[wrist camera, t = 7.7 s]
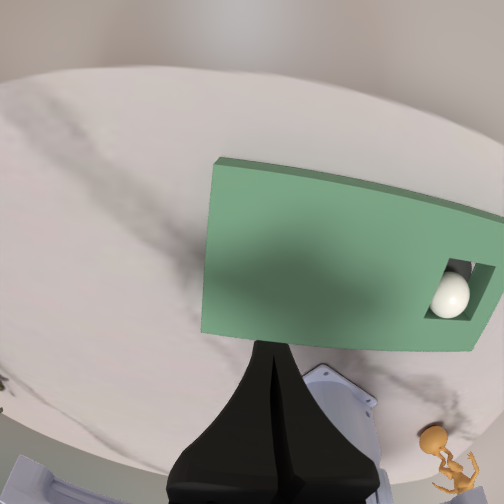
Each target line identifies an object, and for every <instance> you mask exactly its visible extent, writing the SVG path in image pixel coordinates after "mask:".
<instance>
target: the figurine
mask: <svg viewBox="0 0 504 504" xmlns="http://www.w3.org/2000/svg"><path fill="white" fill-rule="evenodd" d="M447 440H448V435H447V432H446V431H445V429H444V428H442V427H440V426H432V427H429V428H428V429H426V430H425V431H424V432H423V433H422V435H421V437H420V441H419V444H420V448H421V449H422V451H424V452H425V453H427V454H433V455H434V456H438V457H439V458H440V459H441V460H442V462H441V464H440V467H439V472H441V473H443V474H444V475H446V476H447V477H448V478H449V479H450V480H451V479H452V478H453V479H454V488H455V489H454V490H450V491H449V490H448V489H445V488H443V487H440V486H437V485H435V484H434V483H432V484H433V485H434V486H435V487H436V488H438V489H440V490H442V491H445V492H446V493H449V494H455V493H457V495H459V494H460V493H462V492H465V491H467V490H470V489H473V486H474V481H475V478H476V477H477V475H478V472H479V468H478V466H477V463H476V461H475V459H474V456H473V454H472V452H471V454H470V453H469V454H470V455H468V456H469V457H470V458H468V459H472V463H473V466H474V469H475V472H474V474H473V475H472V477H471V479H470V478H468V477H467V476H465V475H464V474H463V473H462V472H461V471H462V470H463V467H462V466H461V465H459V464H458V463H456V462H454V461H452V460H451V459H452V458H453V455H452V454H451V452H450V451H449V450H448V449H446V448H445V445H446V443H447ZM440 451H444V452H445V453H447V454H448V455H449V456H448V459H447V465H448V466H449V468H450V469H449V468H444V467H443V466H444V465H445V464H446V461H445V458H444V457H443V456H442V455H441V454H440V453H439V452H440Z"/></svg>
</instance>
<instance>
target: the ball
mask: <svg viewBox="0 0 504 504" xmlns="http://www.w3.org/2000/svg"><path fill="white" fill-rule="evenodd" d="M469 297H470V292H469V287H468V284H467V282H466V280H465V279H464V278H463V277H462V276H461V275H459V274H458V273H455V272H444V273H443V275H442V278H441V280H440V282H439V285H438V287H437V290H436V292H435V294H434V296H433V299H432V301H431V303H430V305H429V307H430V309H431V310H432V311H433V312H434V313H435V314H436V315H437V316H439V317H442V318H453V317H456V316H458V315H459V314H461V313H462V312H463V311H464V309H465V308H466V306H467V304H468V301H469Z"/></svg>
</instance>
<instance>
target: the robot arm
mask: <svg viewBox="0 0 504 504" xmlns="http://www.w3.org/2000/svg"><path fill="white" fill-rule="evenodd" d="M377 403H378V402H377V399H375V398H374V397H372V396H371V395H369V394H368V393H366V392H365V391H363V390H362V389H360V388H359V387H357V386H356V385H354V384H353V383H351V382H350V381H348V380H347V379H345V378H344V377H342V376H341V375H340V374H338V373H337V372H335V371H334V370H332V369H331V368H329V367H328V366H326V365H320V366H318V367H317V368H315V369H314V370H312V371H311V372H309V373H308V374H306V375H305V376H303V377H302V376H301V374H300V372H299V370H298V367H297V365H296V363H295V361H294V358H293V356H292V353H291V351H290V348H289V345H288V344H287V343H280V342H271V341H262V340H256V341H255V342H254V346H253V352H252V357H251V359H250V362H249V365H248V367H247V369H246V371H245V374H244V376H243V378H242V380H241V381H240V383H239V385H238V387H237V389H236V390H235V392H234V394H233V395H232V397H231V398H230V400H229V401H228V403H227V404H226V406H225V407H224V408H223V410H222V411H221V412H220V414H219V415H218V416H217V417H216V419H215V420H214V421H213V422H212V423H211V424H210V426H209V427H208V428H207V429H206V430H205V431H204V432H203V433H202V434H201V435H200V436H199V437H198V438H197V439H196V440H195V441H194V442H193V443H192V444H190V445H189V446H188V447H187V448H186V449H185V450H184V451H183V452H182V453H181V455H180V456H179V458H178V459H177V461H176V462H175V464H174V466H173V467H172V469H171V471H170V474H169V476H168V481H167V486H166V491H167V495H168V498H169V504H393V498H392V492H391V487H390V483H389V479H388V475H387V472H386V471H385V470H384V469H382V468H380V467H379V463H380V459H381V447H380V443H379V439H378V435H377V431H376V427H375V422H374V418H373V415H372V411H371V408H372V407H374V406H375V405H377ZM0 502H1V503H2V504H131V503H128V502H124V501H121V500H117V499H114V498H111V497H108V496H105V495H102V494H99V493H96V492H93V491H91V490H88V489H85V488H83V487H80V486H77V485H75V484H72V483H70V482H68V481H65V480H63V479H60V478H58V477H56V476H54V475H53V473H52V472H51V471H50V470H49V469H48V468H47V467H45V466H43V465H42V464H40V463H38V462H36V461H34V460H32V459H30V458H28V457H26V456H24V455H19V457H18V459H17V461H16V463H15V465H14V467H13V469H12V471H11V474H10V476H9V478H8V480H7V483H6V485H5V487H4V489H3V491H2V494H1V496H0ZM441 504H487V500H486V497H485V494H484V491H483V487H482V486H479V487H476V488H473V489H470V490H467V491H465V492H462V493H460V494H459V495H457V496H456V497H454V498H453V499H452V500H451V501H448V502H445V503H441Z"/></svg>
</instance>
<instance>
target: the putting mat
mask: <svg viewBox="0 0 504 504" xmlns="http://www.w3.org/2000/svg"><path fill="white" fill-rule="evenodd" d="M471 262H475V263H476V265H475V267H474V270H473V272H472V275H471V271H472V266H471ZM444 272H455V273H458V274H459V275H461V276H462V277H463V278H464V279H465V280H466V282H467V283H468V287H469V292H470V297H469V301H468V304H467V306H466V308H465V309H464V311H463V312H462V313H461V314H459V315H458V316H456V317H453V318H442V317H439V316H437V315H436V314H435V313H434V312H433V311H432V310H431V309H430V307H429V305H430V303H431V301H432V299H433V296H434V294H435V292H436V290H437V287H438V285H439V282H440V280H441V278H442V275H443V273H444ZM470 276H471V277H470ZM468 281H469V282H468ZM503 292H504V218H503V217H500V216H497V215H494V214H491V213H487V212H484V211H481V210H478V209H474V208H471V207H468V206H464V205H461V204H457V203H454V202H450V201H446V200H443V199H439V198H435V197H432V196H428V195H424V194H420V193H416V192H412V191H408V190H404V189H399V188H395V187H391V186H387V185H382V184H378V183H373V182H368V181H364V180H359V179H354V178H349V177H344V176H339V175H334V174H328V173H323V172H317V171H312V170H306V169H300V168H294V167H287V166H281V165H274V164H268V163H261V162H253V161H246V160H238V159H230V158H221V157H219V159H218V160H217V161H216V162H215V163H214V164H213V173H212V183H211V194H210V205H209V216H208V228H207V240H206V254H205V267H204V282H203V299H202V317H201V333H207V334H214V335H221V336H228V337H235V338H242V339H250V340H262V341H271V342H280V343H287V344H295V345H305V346H317V347H329V348H344V349H360V350H381V351H415V352H459V351H472V349H473V348H474V346H475V344H476V343H477V341H478V339H479V337H480V336H481V334H482V332H483V330H484V329H485V327H486V325H487V323H488V321H489V319H490V317H491V316H492V314H493V312H494V310H495V308H496V306H497V304H498V302H499V300H500V298H501V296H502V294H503Z"/></svg>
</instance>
